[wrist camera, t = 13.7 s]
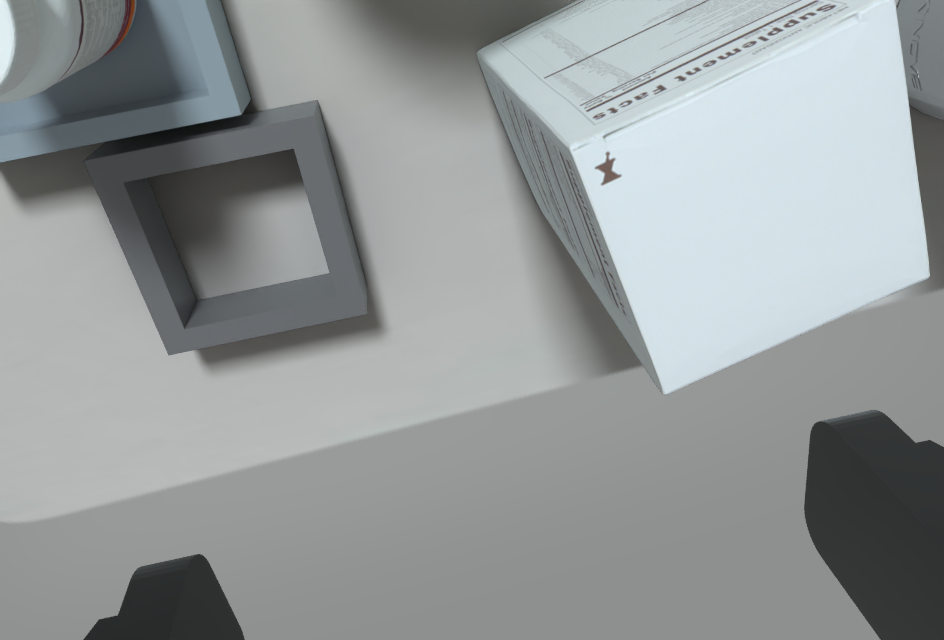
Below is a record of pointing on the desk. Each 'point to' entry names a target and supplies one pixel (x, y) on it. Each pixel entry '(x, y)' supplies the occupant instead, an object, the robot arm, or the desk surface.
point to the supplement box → (718, 165)
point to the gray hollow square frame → (156, 259)
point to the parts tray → (136, 84)
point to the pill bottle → (55, 40)
